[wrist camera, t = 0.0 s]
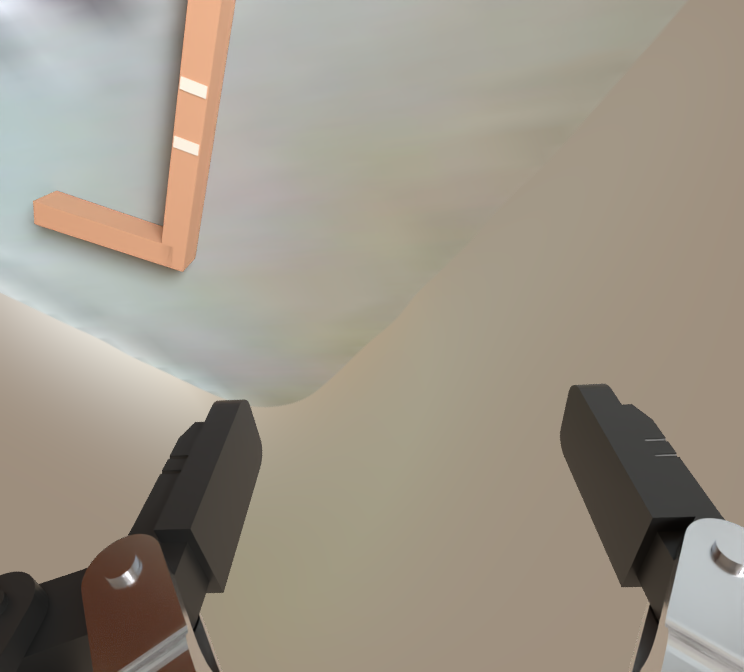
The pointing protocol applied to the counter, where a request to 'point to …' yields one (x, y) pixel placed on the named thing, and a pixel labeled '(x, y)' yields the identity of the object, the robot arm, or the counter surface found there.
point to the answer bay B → (188, 157)
